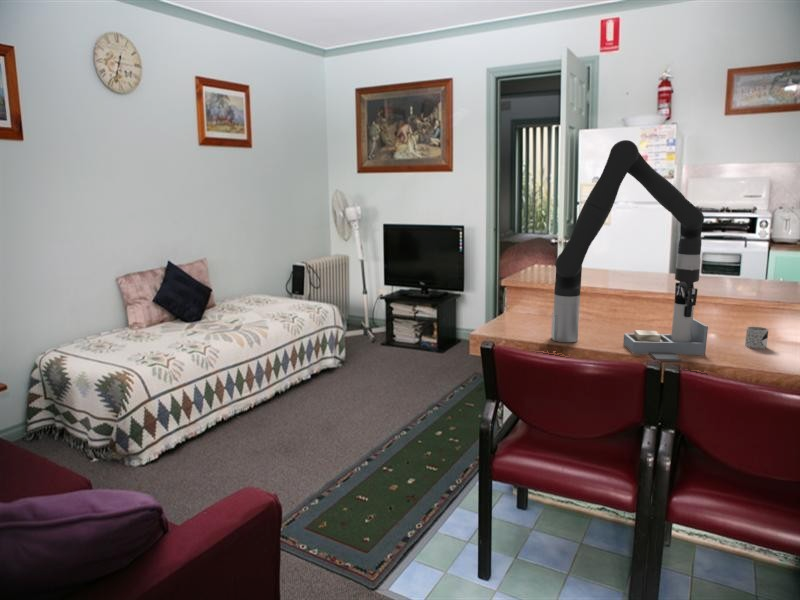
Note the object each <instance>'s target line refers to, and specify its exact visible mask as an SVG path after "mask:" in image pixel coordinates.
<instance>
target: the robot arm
mask: <svg viewBox="0 0 800 600" xmlns="http://www.w3.org/2000/svg"><path fill="white" fill-rule="evenodd" d="M627 174H629V175H630V176H631V177H632V178H634V179H635V180H636V181H637V182H638V183H640V184H641V186H642V187H643V188H644V189H646V191H647V192H648V193H649V195H651V196H652V197H653V198H654V199H655V201H656V202H658V203H659V204H660V205H661V207H663V208H664V209H665V210H667V211H668V212H669V213H670V214H671V215H672V216H673V217H674V218H675V219H676V220H677V221H678V222H679V224H680V227H679V230H680V231H679V232H680V233H679V240H678V248H677V249H678V250H677V256H676V259H675V260H676V262H675V272H674V280H675V281H676V282H675V286H674V287H675V288H674V297H675V296H676V295H681V296H682V297H683V300H685V308H684V317H691V313H692V306H694V307H695V306H696V303H697V297H698V288H695V286H694V283H696V282H699V281H700V272H701V262H702V261H701V255H702V254H701V253H702V229H703V224H704V221H705V216H704V215H705V214H703V211H701V210H700V209H699V208H698V207H696V206H695V205H694V204H693V203H692V202H690V200H688V199H687V198H686V197H685V195H684V194H683V193H682V192H681V191H680V190H679V189H678V188H677V187H676V186H675V185H674V184H673V183H671V182H670V181H669V180H668V179H667V178H665V177H664V176H663V175H661V174H660V173H659V172H658V171H656V169H654V168H653V167H652V166H651V165H650V163H648V162H647V161H646V159H645V158H644V157H643V155H642V154H641V153H640V152H639V148H638V145H636V143H635V142H633V141H631V140H629V139H622V140H619V141H618V142H616V143H615V144H614V145H613V146H612V148H611V149H610V152H609V154H608V158H607V160H606V163H605V165H604V168H603V170H602V172H601V174H600V177H599V179H598V180H597V182H596V183H595V184H594V186H593V188H592V189H591V191H590V192H589V195H588V196H587V198H586V200H585V202H584V204H583V206H582V208H581V209H580V212H579V213H578V216H577V218H576V221H575V224H574V227H573V229H572V234H571V236H570V237H569V240H568V242H567V243H566V245H565V246H564V248H563V250H562V251H561V253H560V254H559V255H558V256H557V258H556V260H555V265H554V266H555V280H554V281H555V282H554V295H553V296H554V297H553V312H552V315H551V336H550V337H551V340H553V342H559V343H576V342H577V341H579V323H580V303H581V302H580V301H581V288H582V274H583V273H582V271H583V263H584V261H585V257H586V255H587V253H588V250H589V248H590V246H591V245H592V243H593V242H594V240H595V239H596V237H597V236H598V234H599V232H600V231H601V230H602V228H603V226H604V225H605V223H606V221H607V219H608V217H609V215H610V213H611V211H612V208H613V207H614V204H615V202H616V199H617V197H618V196H617V195H618V192H619V189H620V187H621V185H622V182H623V181H624V179H625V177H626V176H627ZM690 300H691V301H690Z"/></svg>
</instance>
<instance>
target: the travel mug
mask: <svg viewBox="0 0 800 600" xmlns="http://www.w3.org/2000/svg"><path fill="white" fill-rule="evenodd" d="M690 301H691V300H690ZM684 308H685V300H683V297H682V296H681V295H676V296H675V295H674V304H673V313H672V314H673V315H672V326H671V334H672V336H671V341H672V342H691V333H692V322H693V319H694V311H695V306H692V313H691V317H684Z"/></svg>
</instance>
